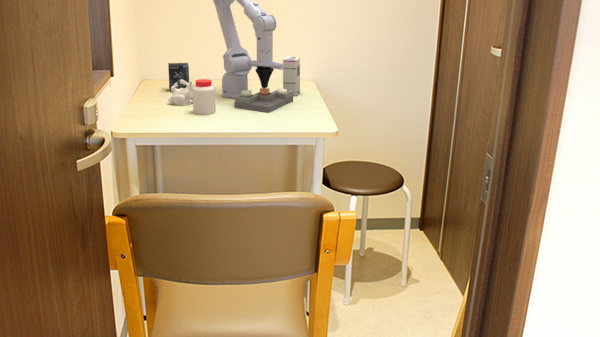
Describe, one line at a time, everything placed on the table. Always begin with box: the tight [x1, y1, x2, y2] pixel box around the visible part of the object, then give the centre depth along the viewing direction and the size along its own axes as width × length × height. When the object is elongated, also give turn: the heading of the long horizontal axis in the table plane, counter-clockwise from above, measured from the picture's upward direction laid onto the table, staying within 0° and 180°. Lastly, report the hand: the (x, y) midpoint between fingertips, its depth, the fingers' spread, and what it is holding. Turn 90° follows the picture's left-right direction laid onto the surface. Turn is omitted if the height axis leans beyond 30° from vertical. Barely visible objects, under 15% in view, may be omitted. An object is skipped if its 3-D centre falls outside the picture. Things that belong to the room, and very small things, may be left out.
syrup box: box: [282, 55, 301, 97], centre depth 236 cm, size 6×6×14 cm
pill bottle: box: [192, 78, 217, 116], centre depth 208 cm, size 8×8×11 cm
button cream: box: [276, 88, 287, 93], centre depth 225 cm, size 4×4×2 cm
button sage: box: [241, 90, 252, 98], centre depth 217 cm, size 4×4×2 cm
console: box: [233, 89, 294, 114], centre depth 222 cm, size 14×20×4 cm
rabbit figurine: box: [167, 79, 195, 106], centre depth 218 cm, size 12×8×10 cm, turn 101°
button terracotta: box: [259, 87, 270, 96], centre depth 221 cm, size 4×4×2 cm
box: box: [167, 62, 190, 92], centre depth 239 cm, size 8×6×11 cm
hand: (264, 87), depth 220 cm, fingers closed
